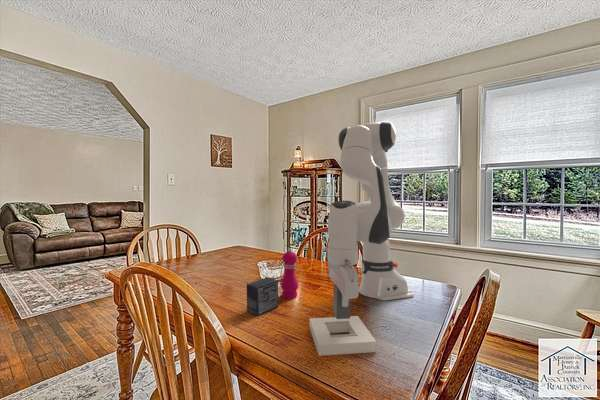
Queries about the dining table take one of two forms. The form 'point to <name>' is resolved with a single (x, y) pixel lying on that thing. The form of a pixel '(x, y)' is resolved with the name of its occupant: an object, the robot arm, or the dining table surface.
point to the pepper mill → (289, 276)
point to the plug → (338, 309)
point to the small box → (262, 296)
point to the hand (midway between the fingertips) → (342, 302)
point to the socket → (341, 336)
